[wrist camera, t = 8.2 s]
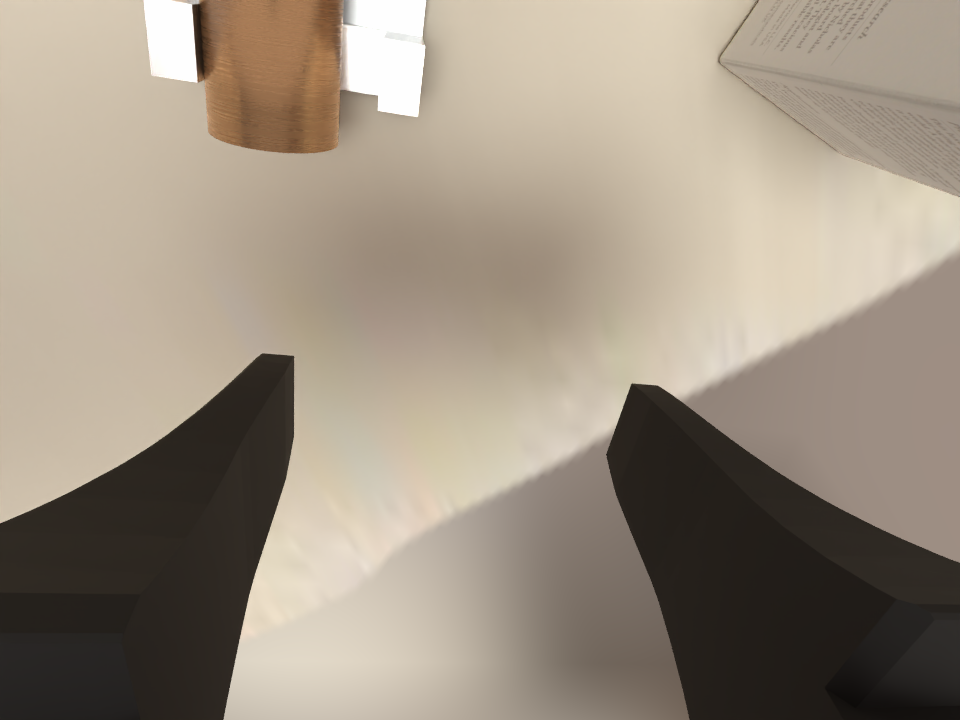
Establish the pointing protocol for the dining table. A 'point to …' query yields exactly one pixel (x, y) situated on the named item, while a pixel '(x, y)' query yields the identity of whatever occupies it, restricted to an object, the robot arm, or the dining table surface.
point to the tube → (273, 72)
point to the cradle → (365, 47)
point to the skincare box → (863, 78)
